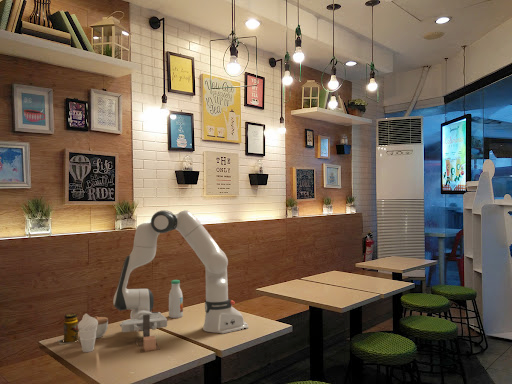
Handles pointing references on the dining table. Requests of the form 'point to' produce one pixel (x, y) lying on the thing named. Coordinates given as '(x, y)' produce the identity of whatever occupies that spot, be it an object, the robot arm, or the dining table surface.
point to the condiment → (70, 329)
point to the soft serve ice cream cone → (87, 332)
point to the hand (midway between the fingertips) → (146, 328)
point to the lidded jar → (101, 326)
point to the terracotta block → (149, 343)
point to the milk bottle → (175, 300)
